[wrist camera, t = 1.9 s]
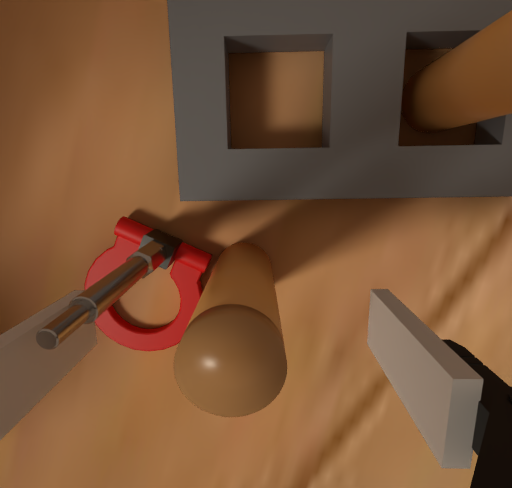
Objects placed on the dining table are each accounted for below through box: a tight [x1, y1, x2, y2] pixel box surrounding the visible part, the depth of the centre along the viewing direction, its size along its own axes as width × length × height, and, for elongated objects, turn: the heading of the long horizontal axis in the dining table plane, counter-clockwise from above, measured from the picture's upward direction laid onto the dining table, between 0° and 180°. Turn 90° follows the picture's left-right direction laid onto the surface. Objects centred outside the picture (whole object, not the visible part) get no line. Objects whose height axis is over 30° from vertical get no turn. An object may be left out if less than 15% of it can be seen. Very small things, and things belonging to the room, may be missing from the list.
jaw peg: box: [174, 242, 287, 417], centre depth 17 cm, size 4×4×12 cm
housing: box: [167, 0, 512, 201], centre depth 19 cm, size 22×12×2 cm, turn 91°
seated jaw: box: [401, 10, 512, 133], centre depth 15 cm, size 4×4×12 cm
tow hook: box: [36, 216, 212, 351], centre depth 18 cm, size 8×13×9 cm
